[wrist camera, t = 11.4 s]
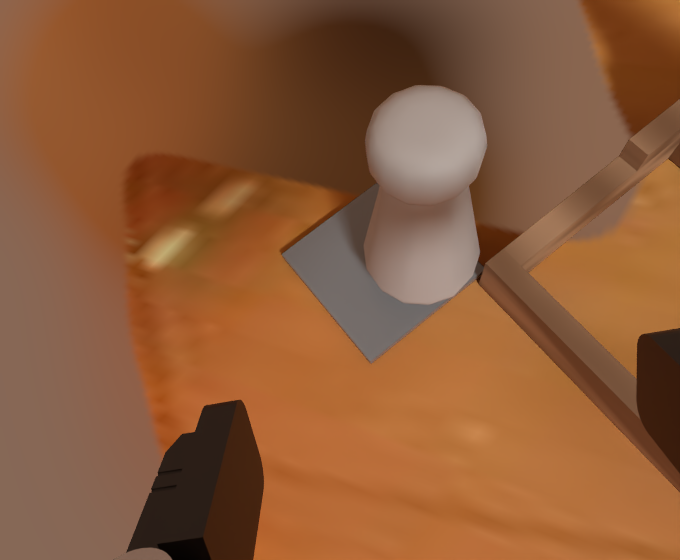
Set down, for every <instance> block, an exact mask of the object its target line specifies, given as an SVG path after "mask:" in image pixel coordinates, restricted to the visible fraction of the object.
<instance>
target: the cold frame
mask: <svg viewBox="0 0 680 560" xmlns="http://www.w3.org/2000/svg"><path fill="white" fill-rule="evenodd" d="M667 159H670V160H671V161H672V162H673V163H675V164H676V165H677V166H678V167H680V99H679V100H678V101H677V102H675V103H674V104H673V105H672V106H670V107H669V108H668V109H667V110H665V111H664V112H663V113H662V114H660V115H659V116H658V117H657V118H655V119H654V120H653V121H652V122H650V123H649V124H648V125H647V126H645V127H644V128H643V129H642V130H640V131H639V132H638V133H637V134H635V135H634V136H633V137H632V138H630V139H629V140H628V142H627V144H626V145H625V147H624V149H623V150H622V152H621V154H620V155H619V157H618V158H616V159H615V160H614V161H612V162H611V163H610V164H609V165H607V166H606V167H605V168H604V169H602V170H601V171H600V172H599V173H597V174H596V175H595V176H594V177H592V178H591V179H590V180H589V181H587V182H586V183H585V184H584V185H582V186H581V187H580V188H579V189H577V190H576V191H575V192H574V193H572V194H571V195H570V196H569V197H567V198H566V199H565V200H564V201H562V202H561V203H560V204H559V205H557V206H556V207H555V208H554V209H552V210H551V211H550V212H549V213H547V214H546V215H545V216H544V217H542V218H541V219H540V220H539V221H537V222H536V223H535V224H534V225H532V226H531V227H530V228H529V229H527V230H526V231H525V232H524V233H522V234H521V235H520V236H519V237H517V238H516V239H515V240H514V241H512V242H511V243H510V244H509V245H507V246H506V247H505V248H504V249H502V250H501V251H500V252H499V253H497V254H496V255H495V256H494V257H493V258H491V259H490V260H489V261H488V262H486V263H485V266H484V269H483V272H482V276H481V279H480V282H479V285H480V286H481V287H482V288H483V289H484V290H485V291H486V292H487V293H488V294H489V295H490V296H491V297H492V298H493V299H494V300H495V301H496V302H497V304H498V305H499V306H500V307H501V308H502V309H503V310H504V311H505V312H506V313H507V314H508V315H509V316H510V317H511V318H512V319H513V320H514V321H515V322H516V323H517V324H518V325H519V326H520V327H521V328H522V329H523V330H524V331H525V332H526V334H527V335H528V336H529V337H530V338H531V339H532V340H533V341H534V342H535V343H536V344H537V345H538V346H539V347H540V348H541V349H542V350H543V351H544V352H545V353H546V354H547V355H548V356H549V357H550V358H551V359H552V360H553V361H554V362H555V363H556V365H557V366H558V367H559V368H560V369H561V370H562V371H563V372H564V373H565V374H566V375H567V376H568V377H569V378H570V379H571V380H572V381H573V382H574V383H575V384H576V385H577V386H578V387H579V388H580V389H581V390H582V391H583V392H584V393H585V394H586V396H587V397H588V398H589V399H590V400H591V401H592V402H593V403H594V404H595V405H596V406H597V407H598V408H599V409H600V410H601V411H602V412H603V413H604V414H605V415H606V416H607V417H608V418H609V419H610V420H611V421H612V422H613V423H614V424H615V426H616V427H617V428H618V429H619V430H620V431H621V432H622V433H623V434H624V435H625V436H626V437H627V438H628V439H629V440H630V441H631V442H632V443H633V444H634V445H635V446H636V447H637V448H638V449H639V450H640V451H641V452H642V453H643V454H644V455H645V457H646V458H647V459H648V460H649V461H650V462H651V463H652V464H653V465H654V466H655V467H656V468H657V469H658V470H659V471H660V472H661V473H662V474H663V475H664V476H665V477H666V478H667V479H668V480H669V481H670V482H671V483H672V484H673V485H674V486H675V488H676V489H677V490H678V491H679V492H680V473H679V472H678V471H677V469H676V468H675V467H674V466H673V464H672V463H671V462H670V461H669V459H668V458H667V457H666V455H665V454H664V453H663V452H662V450H661V449H660V448H659V447H658V445H657V444H656V443H655V441H654V440H653V439H652V438H651V436H650V435H649V434H648V432H647V431H646V429H645V428H644V426H643V424H642V422H641V419H640V416H639V413H638V409H637V402H636V386H637V379H636V378H635V377H634V376H633V375H632V374H631V373H630V372H629V371H628V370H627V369H626V368H625V367H624V366H623V365H621V364H620V363H619V362H618V361H617V360H616V359H615V358H614V357H613V356H612V355H611V354H610V353H609V352H608V351H607V350H606V349H605V348H604V347H603V346H602V345H601V344H600V343H599V342H598V341H597V340H596V339H595V338H594V337H593V336H592V335H591V334H590V333H589V332H588V331H587V330H586V329H585V328H584V327H583V326H582V325H581V324H580V323H579V322H578V321H577V320H576V319H575V318H574V317H573V316H572V315H571V314H570V313H569V312H568V311H567V310H566V309H565V308H563V307H562V306H561V305H560V304H559V303H558V302H557V301H556V300H555V299H554V298H553V297H552V296H551V295H550V294H549V293H548V292H547V291H546V290H545V289H544V288H543V287H542V286H541V285H540V284H539V283H538V282H537V281H536V280H535V279H534V278H533V277H532V276H531V275H530V274H529V273H528V272H529V271H531V270H532V269H533V268H534V267H536V266H537V265H538V264H539V263H540V262H542V261H543V260H544V259H545V258H547V257H548V256H549V255H550V254H551V253H553V252H554V251H555V250H556V249H558V248H559V247H560V246H561V245H562V244H564V243H565V242H566V241H567V240H569V239H570V238H571V237H572V236H574V235H575V234H576V233H577V232H578V231H580V230H581V229H582V228H583V227H585V226H586V225H587V224H588V223H589V222H591V221H592V220H593V219H594V218H596V217H597V216H598V215H599V214H600V213H602V212H603V211H604V210H605V209H607V208H608V207H609V206H610V205H611V204H613V203H614V202H615V201H616V200H618V199H619V198H620V197H621V196H623V195H624V194H625V193H626V192H627V191H629V190H630V189H631V188H632V187H634V186H635V185H636V184H637V183H639V182H640V181H641V180H642V179H643V178H645V177H646V176H647V175H648V174H650V173H651V172H652V171H653V170H654V169H656V168H657V167H658V166H659V165H661V164H662V163H663V162H664V161H665V160H667Z"/></svg>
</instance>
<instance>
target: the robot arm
mask: <svg viewBox="0 0 680 560" xmlns="http://www.w3.org/2000/svg"><path fill="white" fill-rule="evenodd" d="M636 402H637V409H638V413H639V416H640V419H641V422H642V424H643V426H644V428H645V429H646V431H647V432H648V434H649V435H650V436H651V438H652V439H653V440H654V441H655V443H656V444H657V445H658V447H659V448H660V449H661V450H662V452H663V453H664V454H665V455H666V457H667V458H668V459H669V461H670V462H671V463H672V464H673V466H674V467H675V468H676V469H677V471H678V472H679V473H680V328H678V329H672V330H666V331H660V332H654V333H647V334H642V335H641V336H640V337H639V339H638V343H637V386H636ZM151 489H152V493H150V494H149V496H148V499H147V501H146V504H145V506H144V509H143V511H142V514H141V517H140V519H139V521H138V524H137V527H136V529H135V532H134V534H133V537H132V539H131V542H130V544H129V547H128V550H127V552H126V553H125V554H123V555H121V556H119V557H117V558H115V559H114V560H253V557H254V550H255V543H256V537H257V530H258V523H259V516H260V510H261V503H262V496H263V489H264V476H263V467H262V462H261V457H260V454H259V451H258V447H257V444H256V441H255V437H254V434H253V431H252V427H251V424H250V421H249V417H248V414H247V411H246V408H245V405H244V403H243V402H242V401H241V400H235V401H229V402H223V403H217V404H211V405H206V406H204V408H203V410H202V413H201V416H200V419H199V421H198V424H197V427H196V430H195V432H192V433H186V434H182V435H181V436H180V437H179V438H178V439H177V440H176V441H175V443H174V444H173V445H172V446H171V447H170V448H169V449H168V450H167V452H166V453H165V455H164V458H163V460H162V463H161V466H160V468H159V471H158V476H157V477H156V478H155V481H154V483H153V486H152V488H151Z"/></svg>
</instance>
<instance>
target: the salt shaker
mask: <svg viewBox="0 0 680 560" xmlns="http://www.w3.org/2000/svg"><path fill="white" fill-rule="evenodd" d="M365 145H366V154H367V161H368V167H369V172H370V174H371V175H372V176H373V178H374V179H375V180H376V182H377V183H378V184H379V185H380V187H379V191H378V195H377V198H376V202H375V206H374V209H373V213H372V216H371V220H370V224H369V227H368V231H367V234H366V238H365V242H364V253H365V261H366V269H367V270H368V272H369V273H370V275H371V276H372V278H373V279H374V280H375V282H376V283H377V285H378V286H379V287H380V289H381V290H382V291H383V292H385V293H387V294H388V295H390V296H392V297H394V298H395V299H397V300H399V301H401V302H402V303H407V304H423V305H430V304H433V303H436V302H439V301H442V300H445V299H448V298H451V297H454V295H455V294H456V293H457V292H458V291H459V290H460V289H461V288H462V287H463V286H464V285H465V284H466V283H467V281H468V280H469V279H470V278H471V277H472V276H473V273H474V270H475V267H476V264H477V261H478V258H479V255H480V249H479V243H478V237H477V231H476V225H475V219H474V213H473V208H472V201H471V196H470V190H469V185H470V184H471V183H472V182H473V181H474V180H475V178H477V175H478V172H479V169H480V166H481V163H482V160H483V157H484V154H485V151H486V148H487V140H486V133H485V129H484V125H483V121H482V117H481V113H480V112H479V111H478V110H477V109H476V107H474V105H473V104H472V103H471V102H470V101H469V99H468V98H467V97H466V96H465V95H462V94H460V93H457V92H455V91H453V90H450V89H448V88H445V87H443V86H425V85H416V86H413V87H410V88H408V89H405V90H402V91H400V92H396V93H394V94H392V95H391V96H390V97H389V98H388V99H386V100H385V101H384V102H383V103H382V104H381V105H380V106H379V107H377V108H376V109H375V110H374V113H373V116H372V118H371V121H370V124H369V126H368V129H367V132H366V138H365Z"/></svg>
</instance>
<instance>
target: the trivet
mask: <svg viewBox="0 0 680 560" xmlns="http://www.w3.org/2000/svg"><path fill="white" fill-rule="evenodd" d="M379 187H380V185H379V184H378V183H376V184H374V185H373V186H372V187H370V188H369V189H368V190H366V191H365V192H364V193H362V194H361V195H360V196H358V197H357V198H356V199H354V200H353V201H352V202H350V203H349V204H348V205H346V206H345V207H344V208H342V209H341V210H340V211H338V212H337V213H336V214H334V215H333V216H332V217H330V218H329V219H328V220H326V221H325V222H324V223H322V224H321V225H320V226H318V227H317V228H316V229H314V230H313V231H312V232H310V233H309V234H308V235H306V236H305V237H304V238H302V239H301V240H300V241H298V242H297V243H296V244H294V245H293V246H292V247H290V248H289V249H288V250H286V251H285V252H284V253H282V256H283V258H284V259H285V261H286V262H287V263H288V264H289V265H290V267H291V268H292V269H293V270H294V271H295V273H296V274H297V275H298V276H299V277H300V279H301V280H302V281H303V282H304V284H305V285H306V286H307V287H308V288H309V290H310V291H311V292H312V293H313V294H314V296H315V297H316V298H317V299H318V301H319V302H320V303H321V304H322V305H323V307H324V308H325V309H326V310H327V311H328V313H329V314H330V315H331V316H332V317H333V319H334V320H335V321H336V322H337V324H338V325H339V326H340V327H341V328H342V330H343V331H344V332H345V333H346V334H347V336H348V337H349V338H350V339H351V341H352V342H353V343H354V344H355V345H356V347H357V348H358V349H359V350H360V351H361V353H362V354H363V355H364V356H365V357H366V359H367V360H368V361H369V362H370V364H371V363H373V362H374V361H375V360H376V359H378V358H379V357H380V356H381V355H383V354H384V353H385V352H386V351H388V350H389V349H390V348H391V347H392V346H394V345H395V344H396V343H397V342H399V341H400V340H401V339H402V338H404V337H405V336H406V335H407V334H409V333H410V332H411V331H412V330H414V329H415V328H416V327H417V326H419V325H420V324H421V323H422V322H424V321H425V320H426V319H427V318H429V317H430V316H431V315H432V314H434V313H435V312H436V311H437V310H438V309H440V308H441V307H442V306H443V305H445V304H446V303H447V302H448V301H450V300H451V299H452V298H453V297H451V298H448V299H445V300H442V301H439V302H436V303H433V304H430V305H423V304H407V303H402V302H401V301H399V300H397V299H395V298H394V297H392V296H390V295H388V294H387V293H385V292H383V291H382V290H381V289H380V287H379V286H378V285H377V283H376V282H375V280H374V279H373V278H372V276H371V275H370V273H369V272H368V270H367V269H366V261H365V253H364V242H365V238H366V234H367V231H368V227H369V224H370V220H371V216H372V213H373V209H374V206H375V202H376V198H377V195H378V191H379ZM483 269H484V267H483V266H482V265H481V264H480V263H479V262H478V261H477V264H476V267H475V270H474V273H473V276H472V277H471V278H470V279H469V280H468V281H467V283H466V284H465V285H464V286H463V287H462V288H461V289H460V290H459V291H458V292H457V293H456V294H455V295H454V297H455V296H456V295H457V294H458V293H460V292H461V291H462V290H463V289H465V288H466V287H467V286H468V285H470V284H471V283H472V282H473V281H475V280H476V279H477V278H478V277H480V276H481V275H482V272H483Z"/></svg>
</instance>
